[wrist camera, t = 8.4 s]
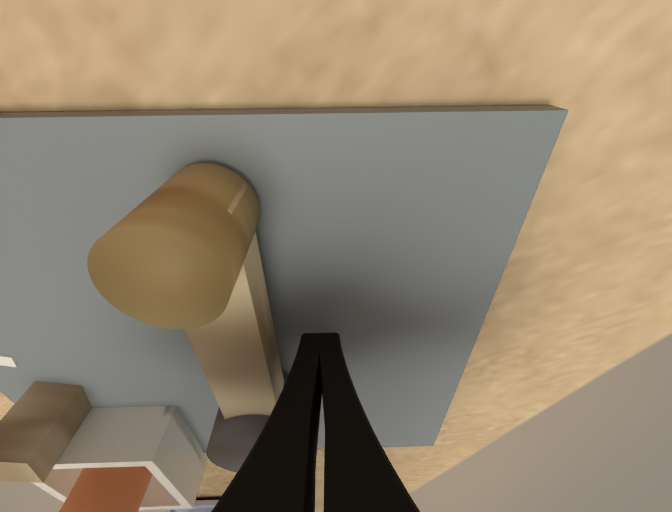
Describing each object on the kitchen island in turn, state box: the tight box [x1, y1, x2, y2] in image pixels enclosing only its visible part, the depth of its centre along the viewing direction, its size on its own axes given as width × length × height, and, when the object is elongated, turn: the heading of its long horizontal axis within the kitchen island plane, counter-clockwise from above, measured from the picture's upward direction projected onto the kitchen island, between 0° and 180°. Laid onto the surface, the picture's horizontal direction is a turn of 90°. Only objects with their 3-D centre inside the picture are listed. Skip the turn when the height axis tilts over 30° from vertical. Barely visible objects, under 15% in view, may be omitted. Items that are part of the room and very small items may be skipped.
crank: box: [87, 163, 288, 472], centre depth 10 cm, size 14×4×4 cm, turn 0°
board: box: [0, 105, 568, 453], centre depth 13 cm, size 19×22×1 cm
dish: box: [32, 406, 207, 510], centre depth 16 cm, size 6×6×2 cm
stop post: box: [0, 381, 92, 483], centre depth 13 cm, size 2×2×3 cm
